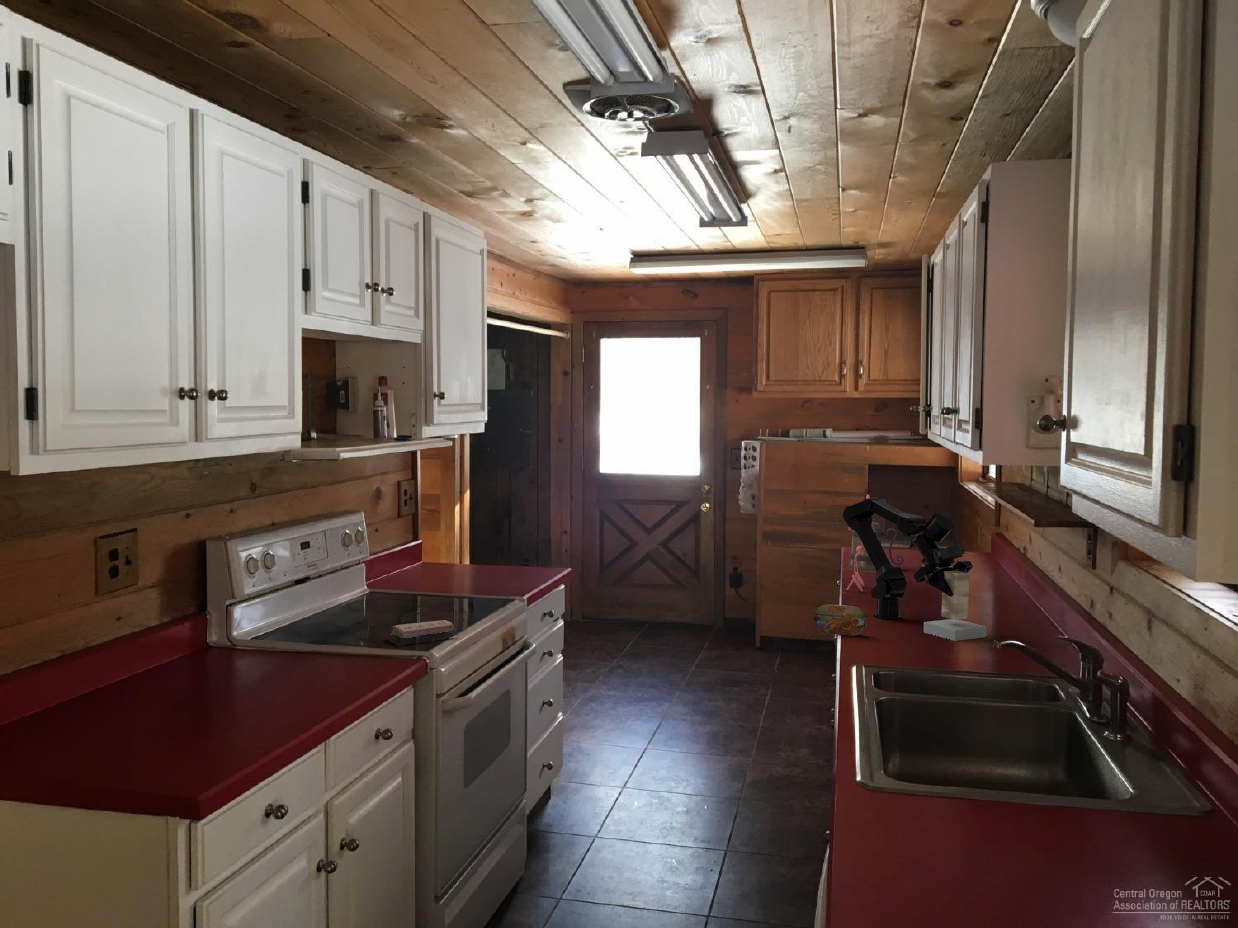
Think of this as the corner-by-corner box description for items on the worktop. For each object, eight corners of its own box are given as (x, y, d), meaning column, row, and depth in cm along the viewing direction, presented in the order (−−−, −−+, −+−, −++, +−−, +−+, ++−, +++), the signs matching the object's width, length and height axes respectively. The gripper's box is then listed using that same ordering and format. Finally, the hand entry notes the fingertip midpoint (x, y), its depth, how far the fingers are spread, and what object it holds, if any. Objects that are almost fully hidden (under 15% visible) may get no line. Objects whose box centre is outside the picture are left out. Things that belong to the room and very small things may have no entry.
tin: (813, 632, 275) (813, 603, 274) (816, 630, 278) (816, 601, 277) (865, 637, 268) (865, 608, 268) (867, 635, 271) (868, 606, 270)
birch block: (941, 616, 273) (943, 571, 272) (954, 615, 275) (955, 570, 274) (954, 619, 268) (956, 574, 268) (967, 618, 271) (969, 573, 270)
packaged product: (444, 616, 273) (458, 623, 265) (444, 633, 273) (458, 640, 265) (383, 623, 263) (396, 630, 255) (384, 641, 263) (397, 648, 255)
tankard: (844, 572, 387) (845, 523, 386) (845, 566, 403) (846, 519, 402) (904, 574, 381) (905, 525, 380) (903, 568, 397) (904, 521, 396)
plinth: (923, 632, 275) (923, 622, 274) (954, 628, 280) (954, 618, 280) (954, 640, 264) (955, 630, 264) (986, 636, 269) (986, 626, 269)
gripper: (922, 536, 270) (951, 580, 261) (968, 533, 278) (998, 575, 269) (901, 560, 277) (929, 604, 268) (947, 556, 286) (975, 598, 277)
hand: (959, 595), depth 270 cm, fingers closed on birch block, 5 cm apart
